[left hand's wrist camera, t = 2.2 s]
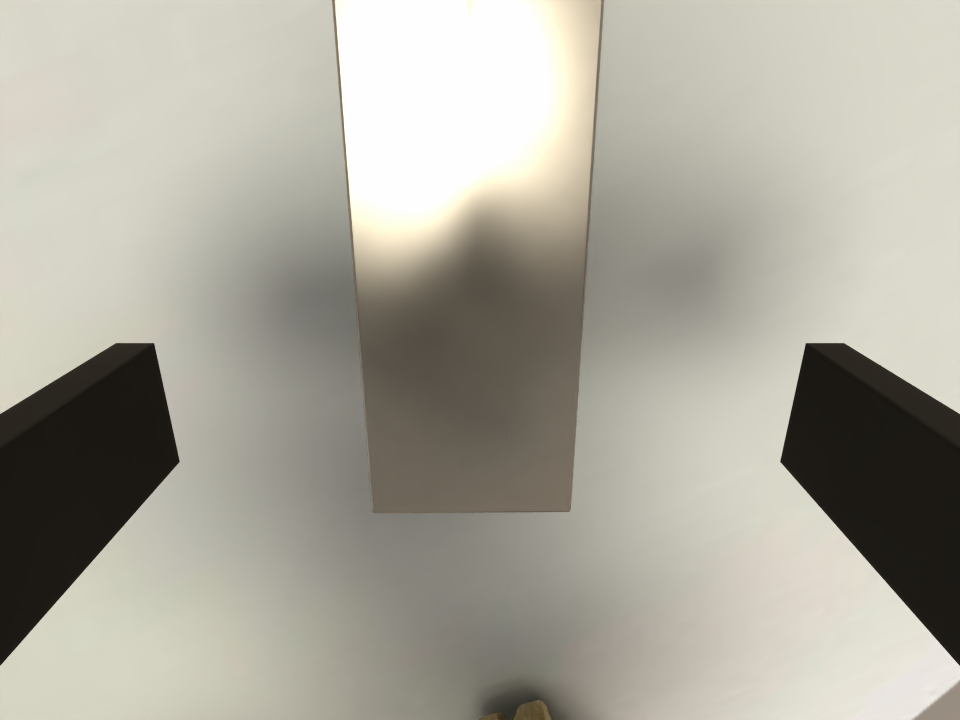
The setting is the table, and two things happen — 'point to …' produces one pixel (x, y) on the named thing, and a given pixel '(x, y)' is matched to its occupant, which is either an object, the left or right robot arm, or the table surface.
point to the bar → (469, 242)
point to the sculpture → (525, 712)
